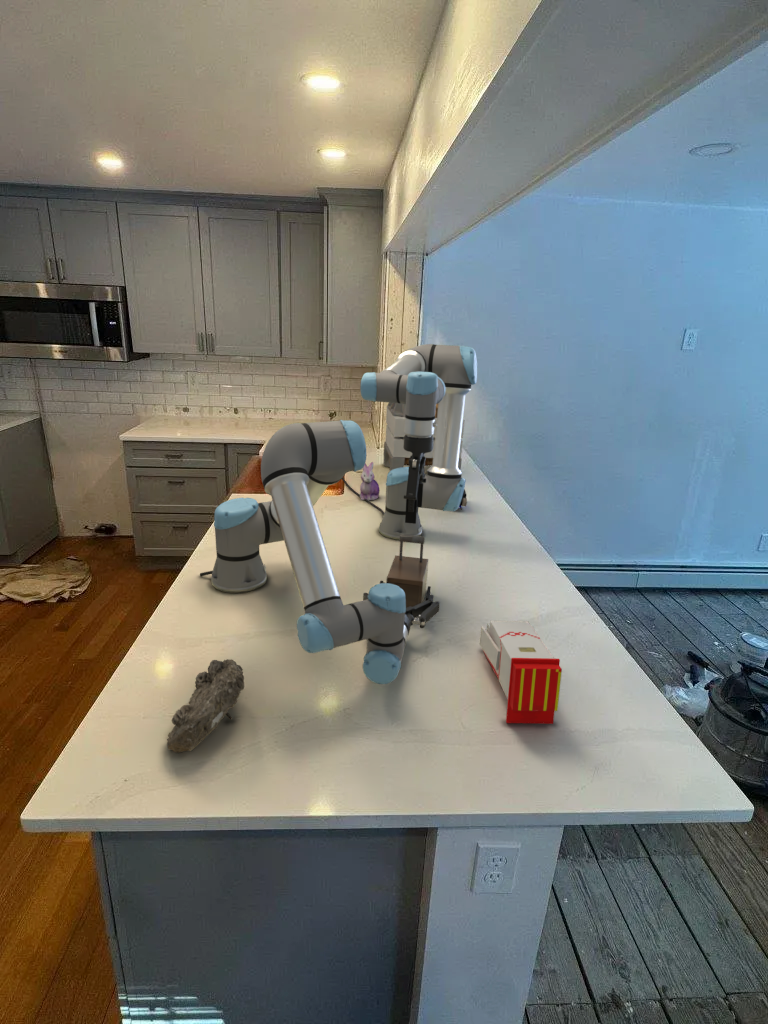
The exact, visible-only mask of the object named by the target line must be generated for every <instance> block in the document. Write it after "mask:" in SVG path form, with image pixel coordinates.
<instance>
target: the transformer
mask: <svg viewBox="0 0 768 1024" xmlns="http://www.w3.org/2000/svg"><path fill="white" fill-rule="evenodd" d="M387 403H388V404H387V405H386V413H385V414H386V415H385V423H386V428H385V438H384V442H383V466H384V467H388V468H389V472H390V471H391V470H393V469H396V468H401V467H405V466H406V467H409V458H410V456H412V453H411V452H408V451H406V450H404V448H403V446H404V436H405V435H406V434H405V433H404V424H405V414H406V404H401V403H389V402H387ZM437 412H438V404H436V410H435V421H434V423H437ZM464 429H465V419H464V418H463V423H462V433H461V442H460V452H459V461H458V468H459V470H460V471H461V472H462V461H463V460H462V453H463V442H464V441H463V440H462V439H463V438H464V431H465V430H464ZM435 433H436V427H434V434H433V435H432V436H433V438H434V440H433V450H432V451H431V452H428V453H425V457H426V461H425V467H431V466H432V464H433V454H434V443H435Z"/></svg>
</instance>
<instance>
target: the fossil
mask: <svg viewBox="0 0 768 1024" xmlns="http://www.w3.org/2000/svg"><path fill="white" fill-rule="evenodd" d="M243 670H244V669H243V667H242V665H240V664H237V662H236V661H235V660H234V659H232V658H231V659H227V658H226V659H224V660H223V661H222V660H217V659H212V660H211V661H210V663H209V665H208V666H207V671H201V672H199V673H198V674H197V675H196V676H195V680H194V684H195V685H194V687H195V689H194V690H193V693H192V694H191V697H190V698H189V700H188V704H184V705H182V706H181V707H180V709H177V710H176V711H175V713H174V715H173V716H172V718H171V723H172V724H173V727H172V730H171V731H170V732H168V734H167V738H166V741H167V742H166V745H167V749H168V750H169V751H173V752H174V753H176V754H178V753H182V752H188V751H189V752H192V751H193V750H195V748H196V747H197V746H199V744H200V743H201V742H203V741H204V740H205V739H206V738H207V737H208V736H209V735H210V734H211V733H212V732H214V730H215V729H217V727H218V726H219V724H220V722H221V721H222V720H223V719H224V718H225V716H226V717H227V719H229V720H233V717H232V715H230V714H229V710H230V709H231V708H234V706H235V704H236V703H237V702H238V699H239V697H240V695H241V693H242V691H243V690H245V689H244V688H245V675H244V671H243Z"/></svg>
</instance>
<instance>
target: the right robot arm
mask: <svg viewBox="0 0 768 1024" xmlns="http://www.w3.org/2000/svg"><path fill="white" fill-rule="evenodd" d="M477 381H478V359H477V352H476V350H475V348H474V347H471V346H466V345H465V346H464V345H455V344H454V345H451V344H434V343H427V344H419V345H417V346H413V347H411V348H408V349H406V350H404V351H403V352H401V353H400V354H399V355H398V356H397V358H396V359H395V361H394V362H393V363H391V364H390V365H389V366H387V367H386V368H384V369H383V370H381V371H380V372H375V371H373V372H365V373H363V375H362V377H361V380H360V396H361V398H362V399H363V401H370V402H373V403H376V402H377V403H378V402H379V403H401V404H406V414H405V424H404V433H405V434H406V435H405V436H404V446H403V448H404V450H406V451H408V452H411V453H412V456H410V458H409V466H404V467H401V468H396V469H393V470H391V471H390V470H389V472H388V473H387V475H386V482H385V504H384V505H385V507H384V508H385V509H384V510H383V509H382V508H380V507H379V506H378V505H376V504H374V503H373V502H371V500H369V501H368V500H367V499H364V500H363V501H365V502H366V503H368V504H369V505H371V506H373V507H374V508H375V509H377V510H378V511H380V513H381V514H382V519H381V522H379V527H378V533H379V534H380V535H381V536H382V537H385V538H387V539H389V540H395V541H399V539H400V534H404V535H414V536H422V535H423V525H422V524H421V518H420V515H419V508H422V509H428V510H436V511H442V512H456V511H457V510H458V509H460V507H459V505H460V502H461V499H462V496H463V492H464V489H466V478H464V477H463V476H462V475H463V474H462V470H461V471H460V470H459V468H458V461H459V452H460V442H461V440H462V438H461V433H462V423H463V419H464V412H465V403H466V395H467V394H468V393H469V392H470V391H471V390H472V386H474V385H476V384H477ZM436 404H438V412H437V423H434V421H435V410H436ZM434 427H436V433H435V443H434V454H433V464H432V465H430V466H429V467H428V468H427V471H426V473H425V467H426V466H425V461H426V457H425V453H428V452H431V451H432V450H433V440H434V438H433V436H432V435H433V434H434ZM341 480H342V482H343V483H344V484H345V485H346V486H347V488H348V489H349V490H350V491H352V492H353V493H354V494H355V495H356V496H357V497H359V498H360V494H361V493H358V492H357V491H356V490H354V489H353V487H351V486H350V484H349V483H347V481H346V480H345V478H344V477H343V478H342V479H341Z"/></svg>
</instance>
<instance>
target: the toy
mask: <svg viewBox="0 0 768 1024" xmlns="http://www.w3.org/2000/svg"><path fill="white" fill-rule="evenodd" d="M478 642H479V643H478V644H479V646H480V647H481V650H482V651H483V654H484V655H485V657H486V659H487V661H488V663H489V664H490V666H491V669H492V670H493V672H494V674H495V676H496V678H497V679H498V682H499V684H500V687H501V688H502V691H503V693H504V695H505V697H506V699H507V706H506V717H505V722H506V724H547V725H549V724H551V725H553V724H554V718H555V712H558V711H559V710H558V709H559V698H560V689H561V682H562V681H561V680H562V672H563V671H562V667H561V666H560V663H561V659H560V658H554V656H553V654H552V653H551V651H550V650H549V649H548V647H547V646H546V644H545V643H544V642H543V640H542V638H540V636H539V635H538V633H537V631H536V630H535V627H534V626H532V625H531V623H530V622H529V620H528V621H527V620H526V621H525V620H524V621H523V620H490V621H489V622H487V623H486V628H485V626H480V634H479V641H478Z"/></svg>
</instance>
